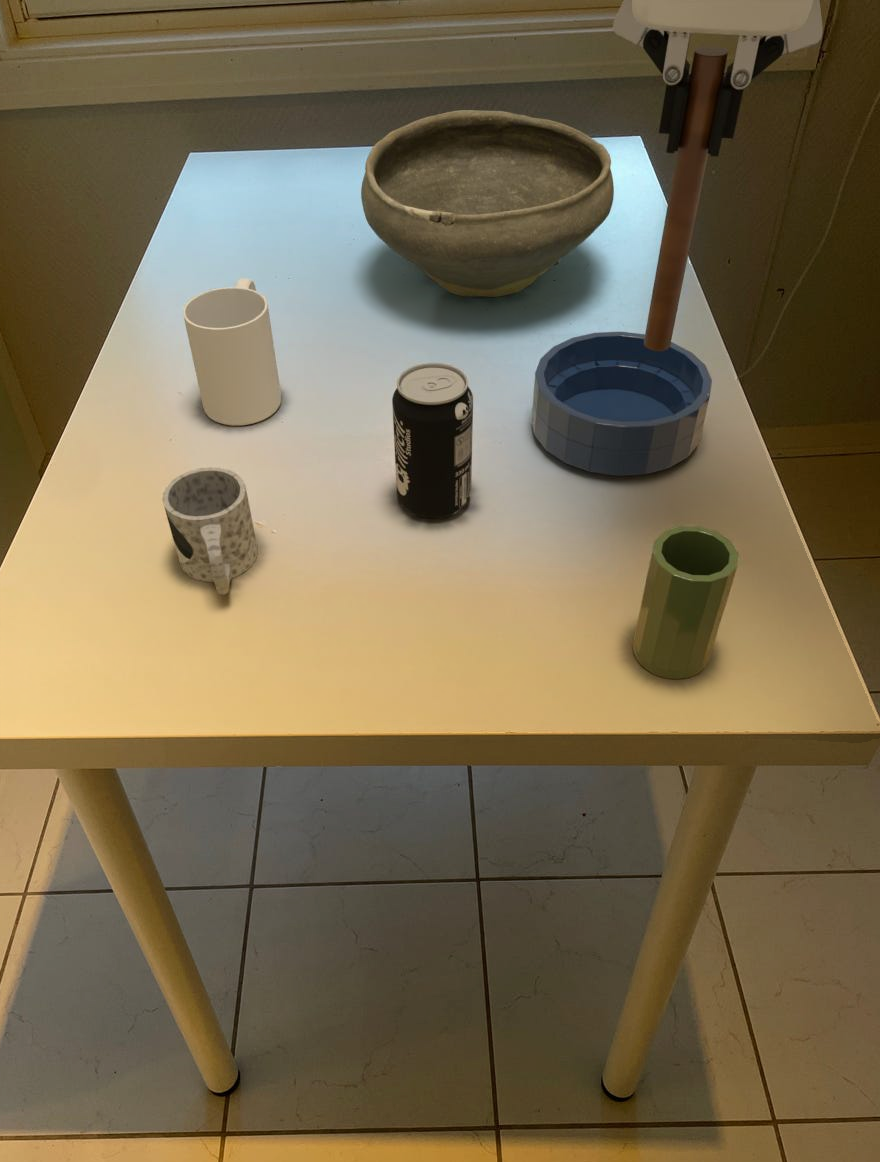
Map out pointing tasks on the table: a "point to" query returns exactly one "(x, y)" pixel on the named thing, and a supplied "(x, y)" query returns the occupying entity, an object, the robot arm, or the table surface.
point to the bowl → (486, 197)
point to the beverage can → (433, 439)
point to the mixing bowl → (619, 403)
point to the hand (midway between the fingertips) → (694, 144)
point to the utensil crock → (684, 600)
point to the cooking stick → (684, 193)
